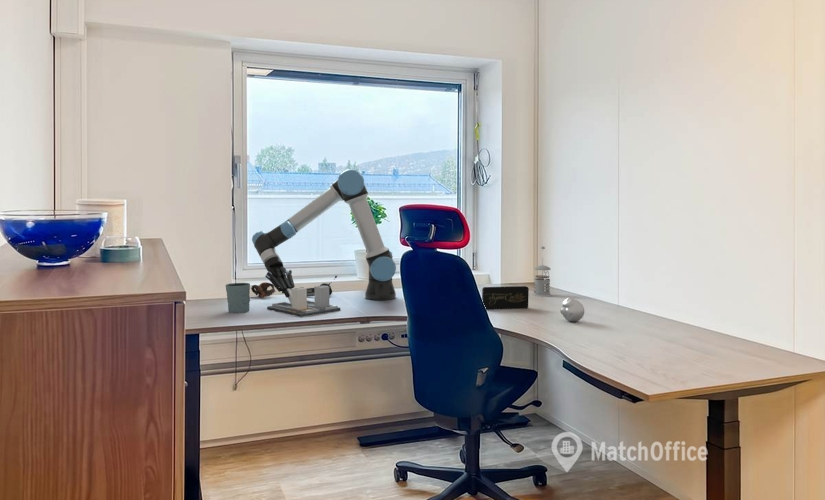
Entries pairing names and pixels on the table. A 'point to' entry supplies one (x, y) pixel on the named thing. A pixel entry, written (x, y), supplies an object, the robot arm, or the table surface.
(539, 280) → the french press
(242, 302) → the green tapered cup
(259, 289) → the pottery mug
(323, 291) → the block
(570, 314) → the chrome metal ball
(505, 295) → the nameplate
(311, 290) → the headset
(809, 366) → the table surface
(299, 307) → the white fader
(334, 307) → the grey board
